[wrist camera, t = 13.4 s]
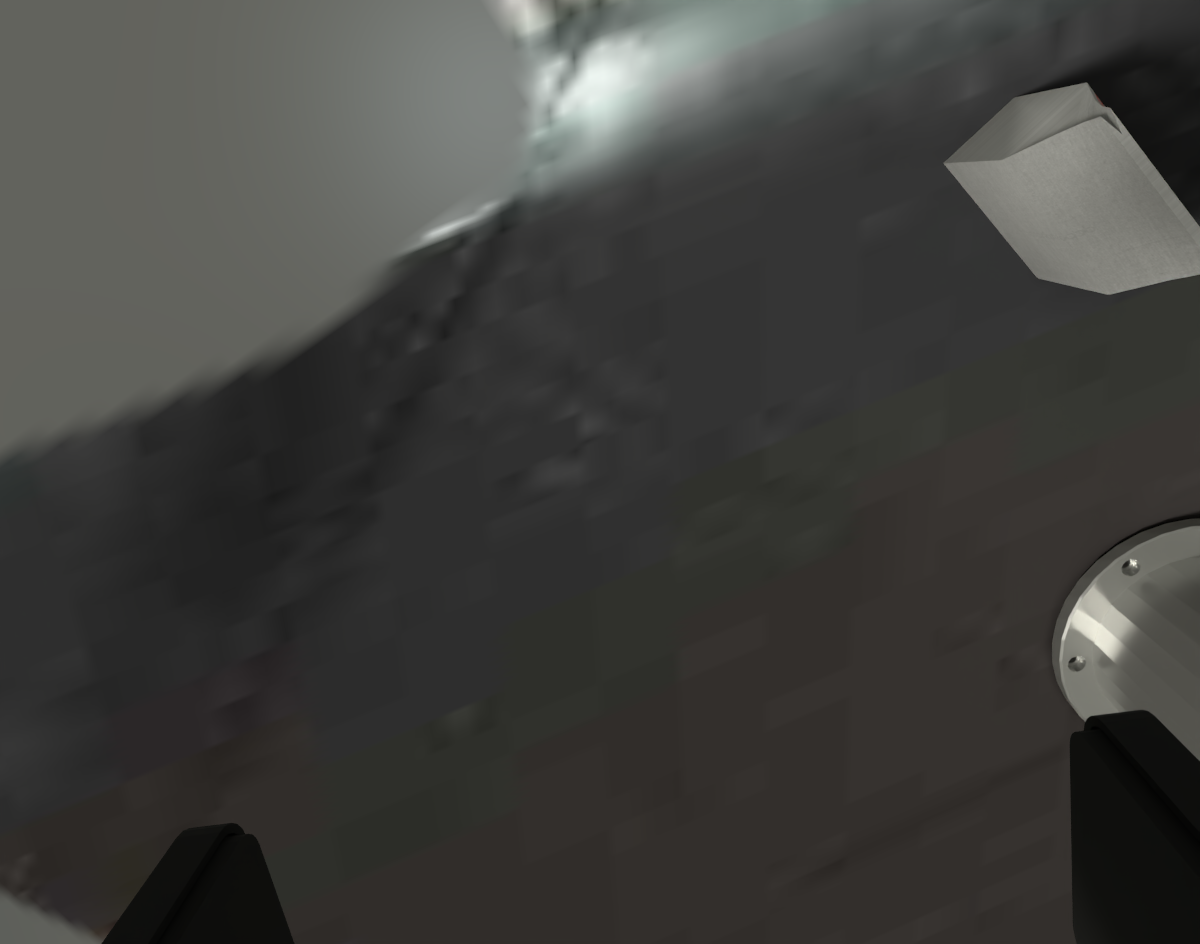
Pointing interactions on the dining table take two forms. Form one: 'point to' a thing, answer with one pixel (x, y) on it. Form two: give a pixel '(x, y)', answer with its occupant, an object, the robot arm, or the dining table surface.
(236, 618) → the dining table surface
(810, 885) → the dining table surface
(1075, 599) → the robot arm
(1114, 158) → the white paper bag
